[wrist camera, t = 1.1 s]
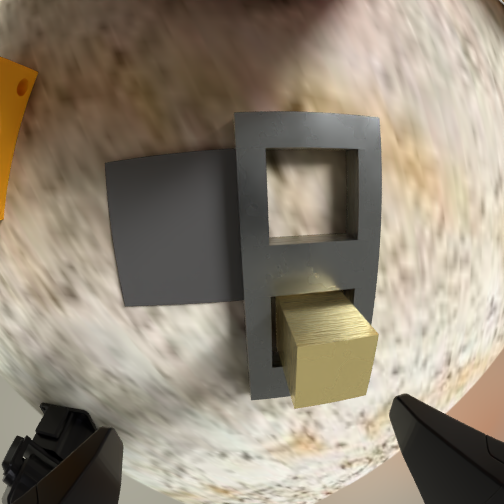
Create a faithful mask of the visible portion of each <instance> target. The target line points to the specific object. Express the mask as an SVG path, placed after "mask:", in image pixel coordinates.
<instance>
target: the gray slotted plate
mask: <svg viewBox="0 0 504 504" xmlns="http://www.w3.org/2000/svg"><path fill="white" fill-rule="evenodd" d="M233 119H234V141H235V157H236V176H237V195H238V214H239V231H240V248H241V265H242V281H243V297H244V315H245V331H246V345H247V360H248V374H249V386H250V394H251V400H259V399H269V398H278V397H286V396H291V395H290V392H289V388H288V385H287V381H286V378H285V374H284V371H283V367H282V364H281V360H280V357H279V353H278V352H272V331H271V297H274V296H285V295H296V294H306V293H316V292H326V291H335V290H343V294H344V295H345V297H346V298H347V299H348V300H349V301H350V302H351V303H352V304H353V306H354V307H355V308H356V309H357V310H358V311H359V312H360V314H361V315H362V316H363V317H364V318H365V319H366V320H367V322H368V323H369V324H370V325H371V323H372V316H373V308H374V300H375V292H376V283H377V273H378V261H379V248H380V231H381V203H382V164H381V137H380V120H379V118H378V117H369V116H360V115H349V114H336V113H319V112H280V111H273V112H235V113H234V118H233ZM265 150H346V173H347V224H346V233H340V234H322V235H305V236H288V237H272V238H269V223H268V197H267V173H266V151H265Z"/></svg>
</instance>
